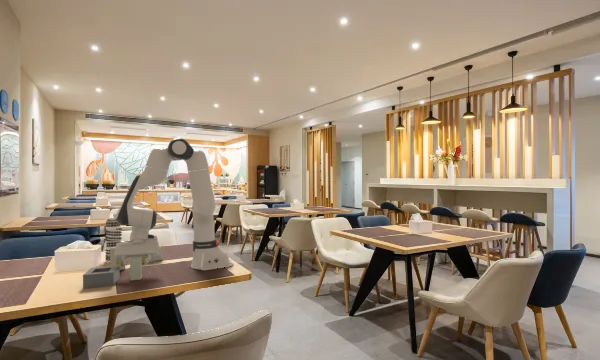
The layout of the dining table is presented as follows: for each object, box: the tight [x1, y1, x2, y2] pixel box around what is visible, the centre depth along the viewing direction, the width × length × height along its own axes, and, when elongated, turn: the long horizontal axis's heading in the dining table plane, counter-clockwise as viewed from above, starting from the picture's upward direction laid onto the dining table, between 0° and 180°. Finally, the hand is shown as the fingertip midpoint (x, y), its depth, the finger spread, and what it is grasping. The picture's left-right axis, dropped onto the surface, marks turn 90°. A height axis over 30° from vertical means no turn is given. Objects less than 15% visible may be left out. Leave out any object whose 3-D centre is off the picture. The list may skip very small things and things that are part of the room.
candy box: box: [142, 245, 163, 265], centre depth 187 cm, size 16×2×8 cm, turn 136°
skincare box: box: [109, 247, 126, 271], centre depth 172 cm, size 6×4×12 cm
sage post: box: [129, 257, 143, 281], centre depth 157 cm, size 4×4×10 cm
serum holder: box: [82, 265, 121, 289], centre depth 151 cm, size 12×12×6 cm
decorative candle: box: [104, 217, 123, 263], centre depth 192 cm, size 9×9×25 cm
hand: (135, 264), depth 157 cm, fingers open, 8 cm apart
